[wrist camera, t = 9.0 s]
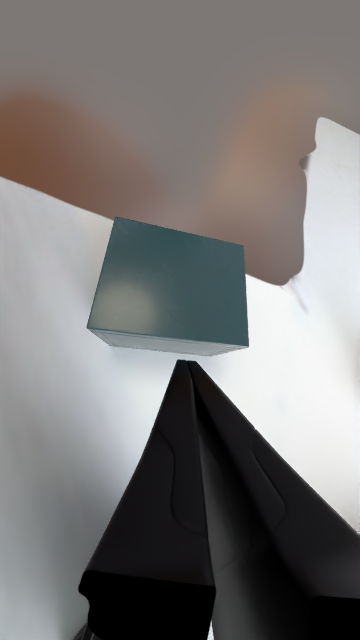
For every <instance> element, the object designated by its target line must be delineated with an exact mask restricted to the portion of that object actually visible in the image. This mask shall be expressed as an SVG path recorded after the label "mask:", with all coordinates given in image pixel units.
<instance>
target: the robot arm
mask: <svg viewBox="0 0 360 640" xmlns="http://www.w3.org/2000/svg"><path fill="white" fill-rule="evenodd" d="M78 591H79V593H80V594H82V595H83V596H85V597H86V598H87V600H88V602H89V605H90V606H89V612H88V620H87V622H88V623H87V624H86V625H85V626H84V628H83V629H82V630H81V631H80V633H79V634H78V635H77V637H76V638H75V639H74V640H207V638H208V633H209V628H210V623H211V621H212V628H213V636H214V640H360V535H359V534H358V533H357V532H356V531H355V530H354V529H353V528H352V527H351V526H350V525H349V524H348V523H347V522H346V521H345V520H344V519H343V518H342V517H341V516H340V515H339V514H338V513H337V512H336V511H335V510H334V509H333V508H332V507H331V506H330V505H329V504H328V503H327V502H326V501H325V500H324V499H323V498H322V497H321V496H320V495H319V494H318V493H317V492H316V491H315V490H314V489H313V488H312V487H311V486H310V485H309V484H308V483H307V482H306V481H305V480H303V479H302V478H301V477H300V476H299V475H298V473H297V472H296V471H295V470H294V469H293V468H292V467H291V466H290V465H289V464H288V463H287V462H286V461H285V460H284V459H283V458H282V457H281V456H280V455H279V454H278V453H277V452H276V451H275V450H274V448H273V447H272V446H271V445H270V444H269V443H268V442H267V441H266V440H265V439H264V438H263V436H262V435H261V434H260V433H259V432H258V431H257V430H256V429H255V428H254V426H253V425H252V424H251V423H250V422H249V421H248V420H247V418H246V417H245V416H244V415H243V414H242V413H241V412H240V410H239V409H238V408H237V407H236V406H235V405H234V404H233V403H232V401H231V400H230V399H229V398H228V397H227V396H226V395H225V394H224V392H223V391H222V390H221V389H220V388H219V387H218V386H217V384H216V383H215V382H214V381H213V380H212V379H211V378H210V377H209V375H208V374H207V373H206V372H205V371H204V370H203V369H202V368H201V366H200V365H199V364H198V363H197V362H196V361H189V360H188V361H186V360H177V362H176V365H175V368H174V370H173V373H172V376H171V379H170V381H169V384H168V387H167V390H166V392H165V395H164V398H163V401H162V403H161V406H160V409H159V412H158V414H157V417H156V420H155V423H154V426H153V428H152V431H151V433H150V436H149V439H148V441H147V444H146V446H145V449H144V451H143V454H142V456H141V459H140V461H139V463H138V465H137V467H136V469H135V471H134V473H133V476H132V478H131V480H130V482H129V484H128V486H127V488H126V490H125V492H124V494H123V496H122V498H121V500H120V502H119V504H118V506H117V508H116V510H115V512H114V514H113V516H112V518H111V520H110V522H109V524H108V526H107V528H106V530H105V532H104V534H103V536H102V538H101V540H100V542H99V543H98V545H97V547H96V549H95V551H94V553H93V555H92V557H91V559H90V561H89V563H88V565H87V567H86V569H85V571H84V573H83V575H82V578H81V581H80V584H79V587H78Z"/></svg>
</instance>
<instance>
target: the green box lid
mask: <svg viewBox="0 0 360 640" xmlns="http://www.w3.org/2000/svg"><path fill="white" fill-rule="evenodd" d="M87 329H89V330H90V331H95V332H104V333H112V334H121V335H130V336H138V337H147V338H155V339H164V340H173V341H181V342H190V343H199V344H207V345H216V346H224V347H233V348H242V349H244V348H248V347H249V338H248V318H247V298H246V277H245V257H244V246H243V245H239V244H234V243H230V242H225V241H221V240H216V239H212V238H208V237H203V236H199V235H195V234H190V233H186V232H181V231H177V230H173V229H168V228H164V227H159V226H154V225H151V224H146V223H142V222H137V221H133V220H128V219H124V218H119V217H115V220H114V223H113V227H112V231H111V235H110V239H109V243H108V247H107V251H106V254H105V258H104V262H103V266H102V270H101V274H100V278H99V282H98V285H97V289H96V293H95V297H94V301H93V305H92V309H91V312H90V316H89V320H88V324H87Z"/></svg>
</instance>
